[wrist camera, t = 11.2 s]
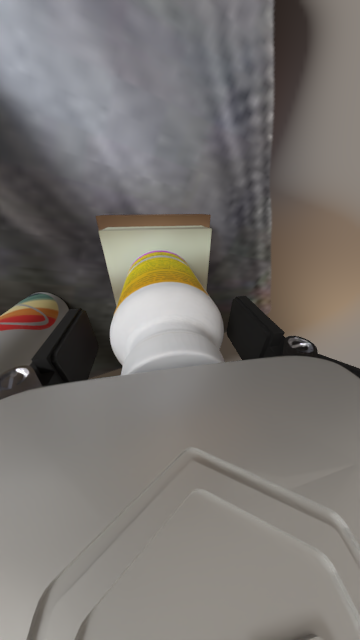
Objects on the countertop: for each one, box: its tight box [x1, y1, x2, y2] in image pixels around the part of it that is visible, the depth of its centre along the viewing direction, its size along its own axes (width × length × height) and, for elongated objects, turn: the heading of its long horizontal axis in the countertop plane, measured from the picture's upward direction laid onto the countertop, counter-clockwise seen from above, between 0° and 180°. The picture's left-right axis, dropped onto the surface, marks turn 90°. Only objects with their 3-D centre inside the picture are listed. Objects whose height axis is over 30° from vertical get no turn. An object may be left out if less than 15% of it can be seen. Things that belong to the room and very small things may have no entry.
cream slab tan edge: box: [96, 214, 212, 306], centre depth 21 cm, size 12×12×8 cm
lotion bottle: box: [0, 292, 69, 374], centre depth 17 cm, size 6×6×20 cm
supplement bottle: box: [110, 250, 225, 375], centre depth 12 cm, size 7×7×13 cm
